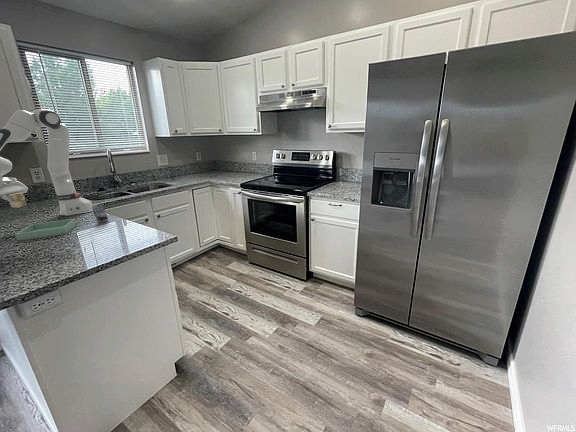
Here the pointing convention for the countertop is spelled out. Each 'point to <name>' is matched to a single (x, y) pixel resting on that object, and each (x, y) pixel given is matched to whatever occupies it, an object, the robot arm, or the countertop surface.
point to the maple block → (17, 200)
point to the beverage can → (99, 212)
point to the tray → (46, 229)
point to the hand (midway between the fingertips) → (17, 199)
